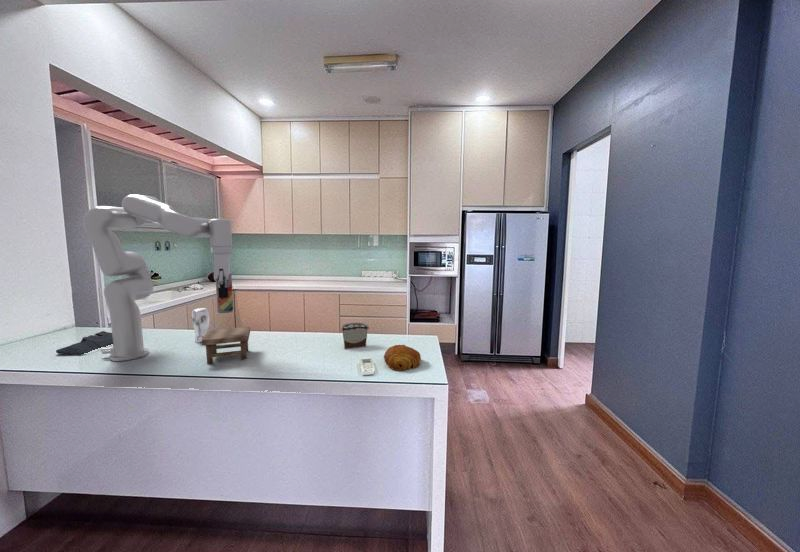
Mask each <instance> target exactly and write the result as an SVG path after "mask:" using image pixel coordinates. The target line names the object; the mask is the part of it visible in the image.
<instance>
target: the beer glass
mask: <svg viewBox="0 0 800 552" xmlns="http://www.w3.org/2000/svg"><path fill="white" fill-rule="evenodd" d="M191 323H192V326H193V330H194V335H195V337H194V342H195V343H197V344H198V343H200V344H202V342H201V340H202V339H203V337H204V336H205V334H206V333H207V331H208V330H210V328H209V327H210V312H209V308H208V307H197V308H193V309H191Z"/></svg>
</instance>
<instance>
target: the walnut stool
mask: <svg viewBox="0 0 800 552" xmlns="http://www.w3.org/2000/svg"><path fill="white" fill-rule="evenodd" d="M250 334H251V326H243V327H231V328H220V329H208V331H207V333H206V334H205V336H204V337H203V339H202V340H201V342H202V343H201V346H205V351H206V353H205V354H206V364H207V365H212V364H214V358H221V357H231V356H240V360H241V361H246V360H247V359H248V354H247V352H249V338H250V336H251V335H250ZM229 348H240V350H233V351H224V352H218V350H220V349H221V350H222V349H229Z"/></svg>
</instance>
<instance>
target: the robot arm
mask: <svg viewBox="0 0 800 552" xmlns="http://www.w3.org/2000/svg"><path fill="white" fill-rule="evenodd" d="M82 221H83V222H82V225H83V228H84V231H85V234H86V235H87V237H88V239H89V241H90V243H91V245H92V248H93V251H94V254H95V255H94V256H95V258H96V259H97V263H98V266H99V268H100V271H101V272H102V273H103V275H105V276H107V277H121V276H122V277H123V276H125V278H120V279H114V280H112V281H110V282H109V283H107V284H106V285H105V287H104V290H103V294H104V299H105V301H106V304H107V306H108V308H107V309H108V311H109V320H110V328H111V333H112V338H113V345H112V346H110V347H106V348H102V349H101V350H100V352H101V354H102V355H107V354H110V355H109V361H113V362H125V361H131V360H135V359H139V358H142V357H144V356H147V355H149V353H150V350H149V349H148V348H146V347H144V337H143V325H142V315H141V310H140V308H139V306H138V304H137V303H136V301H137V300H139V301H140V300H142V299H145V298H147V297H149V296H150V295H152V294H153V291H154V284H153V280H152V278H151V274H150V272H149V268H148V266H147V263H146V260H145V258H143V256H142V255H141V254H139V253H137V252H136V251H124V249H123V246H122V244H121V240H120V239H119V238H118V236H117V235H116V234H115V232H113V231H112V229H116V230H117V229H121V230H122V229H126V230H128V229H130V230H131V229H135V228H137V227H140V226H142V225H144V224H147V223H149V222H150V223H153V224H155V225H158V226H160V227H162V228H163V229H164V230H166V231H168V232H170V233H173V234H176V235H180V236H182V237H185V238H190V239H195V238H196V239H197V238H200V239H201V238H202V239H204V238H209V240H210V241H209V243H210V244H209V245H210V255H211V256H213V279H214V280H213V281H216V279H218V287H219V288H218V292H219V298H228V287H227V280H228V279H229V274H231V257H230V256H231V255H234V254H233V253H234V251H233V238H232V237H233V235H232V223H231V221H230V219H228V218H212V219H211V218H205V217H191V216H187V215H184V214H181V213H178V212H176V211H175V209H174V207H173V206H171V205H170V204H167V203H164V202H162V201H161V200H160V199H158V197H155V196H150V195H142V194H136V193H135V194H134V193H133V194H128V195H126V196H125V197H123V198H122V201H121V207H120V206H110V205H100V206H99V205H98V206H94V207H92V208H90V209H89V210H88V211H86V212H85V214H84V217H83V220H82ZM223 272H224V274H223ZM223 278H225V279H223ZM224 281H225V282H224Z"/></svg>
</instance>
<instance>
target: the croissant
mask: <svg viewBox="0 0 800 552" xmlns="http://www.w3.org/2000/svg"><path fill="white" fill-rule="evenodd" d="M383 360H384V362H385V365H386V366H387V367H388V368H390V369H392V370H395V371H398V372H399V371H404V370H410V369H416V368H417V367H419V365H420V364H421V361H422V358H421V353H420V352H419V351H418V350H416V349H415V348H413V347H410V346H407V345H405V344H395V345H392V346H390V347H388V349H386V351H385V353H384V355H383Z"/></svg>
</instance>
